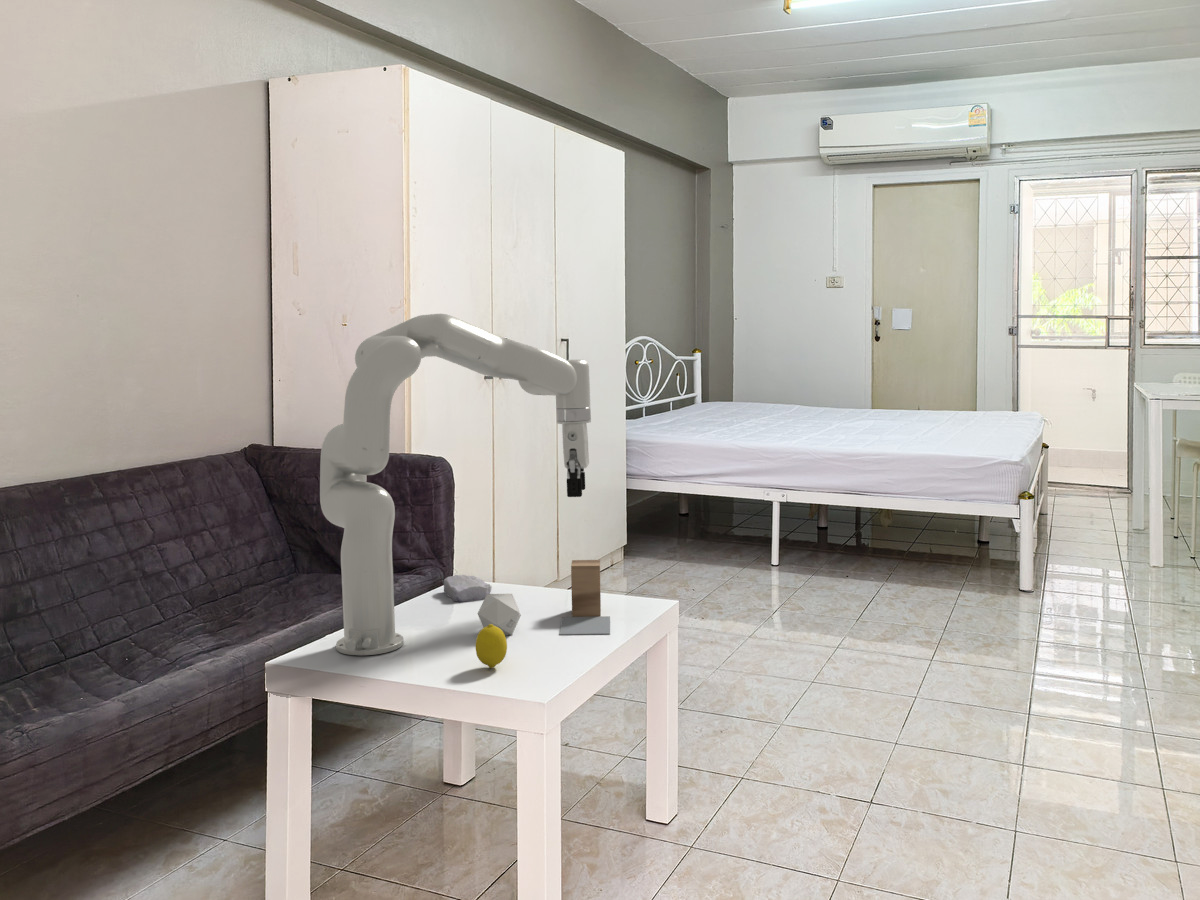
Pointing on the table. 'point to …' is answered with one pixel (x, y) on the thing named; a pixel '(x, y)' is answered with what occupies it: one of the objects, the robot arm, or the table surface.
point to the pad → (585, 625)
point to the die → (500, 612)
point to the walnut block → (585, 588)
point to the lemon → (491, 645)
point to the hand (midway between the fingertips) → (576, 493)
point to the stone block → (466, 588)
